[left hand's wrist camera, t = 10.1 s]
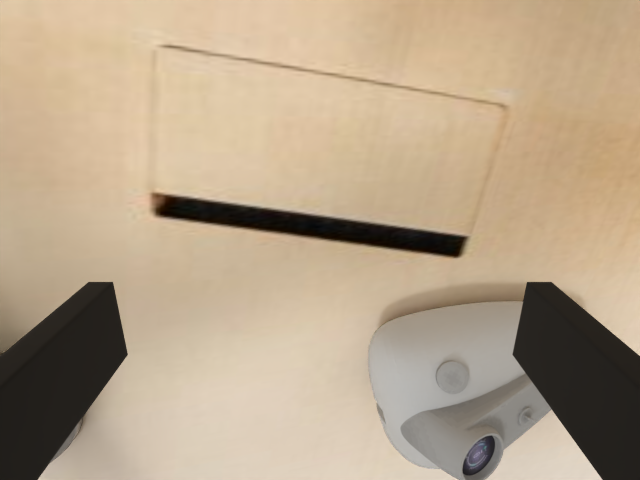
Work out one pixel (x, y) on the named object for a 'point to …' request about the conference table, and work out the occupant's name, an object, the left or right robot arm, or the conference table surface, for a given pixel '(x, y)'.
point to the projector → (453, 386)
